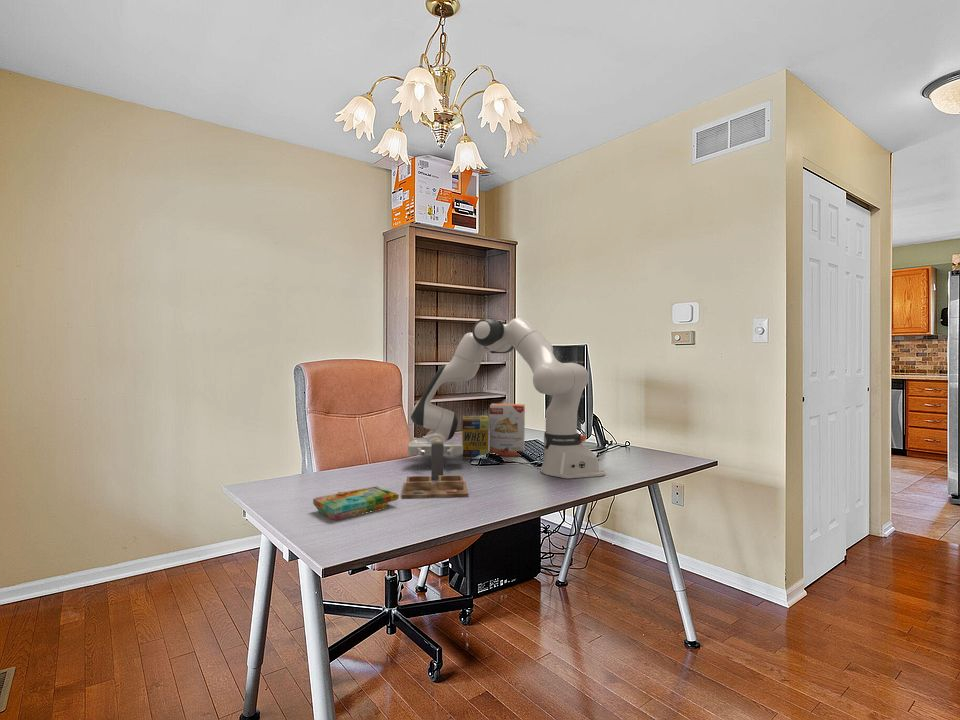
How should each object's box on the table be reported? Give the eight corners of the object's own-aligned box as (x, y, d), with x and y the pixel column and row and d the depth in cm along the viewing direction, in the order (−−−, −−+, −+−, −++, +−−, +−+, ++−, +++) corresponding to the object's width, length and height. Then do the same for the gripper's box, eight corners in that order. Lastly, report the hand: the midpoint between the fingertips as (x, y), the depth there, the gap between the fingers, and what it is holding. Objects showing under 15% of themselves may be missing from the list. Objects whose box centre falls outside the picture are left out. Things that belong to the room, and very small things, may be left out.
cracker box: (489, 455, 218) (489, 404, 217) (491, 452, 224) (491, 402, 223) (523, 457, 216) (523, 405, 215) (524, 454, 222) (525, 403, 221)
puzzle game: (313, 496, 147) (376, 483, 160) (313, 512, 147) (376, 498, 160) (333, 505, 138) (398, 491, 152) (333, 523, 138) (398, 507, 152)
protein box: (462, 459, 211) (462, 420, 210) (463, 451, 226) (463, 415, 226) (488, 459, 211) (488, 420, 210) (487, 451, 226) (487, 415, 226)
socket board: (465, 484, 175) (465, 473, 175) (468, 496, 161) (468, 485, 161) (403, 485, 173) (403, 474, 173) (401, 498, 159) (401, 486, 159)
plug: (443, 476, 185) (443, 439, 185) (443, 479, 182) (443, 441, 181) (431, 476, 185) (431, 439, 185) (431, 479, 181) (431, 441, 181)
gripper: (462, 453, 205) (465, 461, 191) (408, 454, 203) (407, 462, 189) (462, 437, 205) (465, 443, 191) (408, 437, 203) (407, 444, 189)
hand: (435, 453), depth 190 cm, fingers open, 8 cm apart
